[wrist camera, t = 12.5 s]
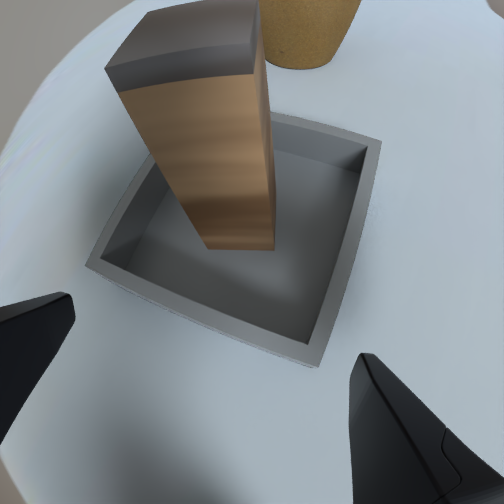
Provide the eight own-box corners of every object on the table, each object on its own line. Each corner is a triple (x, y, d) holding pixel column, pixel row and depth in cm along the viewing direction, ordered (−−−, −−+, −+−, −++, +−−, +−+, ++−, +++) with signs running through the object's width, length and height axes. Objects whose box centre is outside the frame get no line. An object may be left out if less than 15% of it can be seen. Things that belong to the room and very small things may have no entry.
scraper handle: (274, 250, 18) (249, 43, 6) (207, 249, 18) (104, 68, 6) (276, 192, 19) (257, -6, 7) (215, 193, 20) (147, 11, 8)
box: (311, 368, 16) (318, 367, 13) (113, 283, 19) (84, 265, 16) (370, 173, 20) (381, 141, 17) (200, 130, 23) (189, 99, 20)
